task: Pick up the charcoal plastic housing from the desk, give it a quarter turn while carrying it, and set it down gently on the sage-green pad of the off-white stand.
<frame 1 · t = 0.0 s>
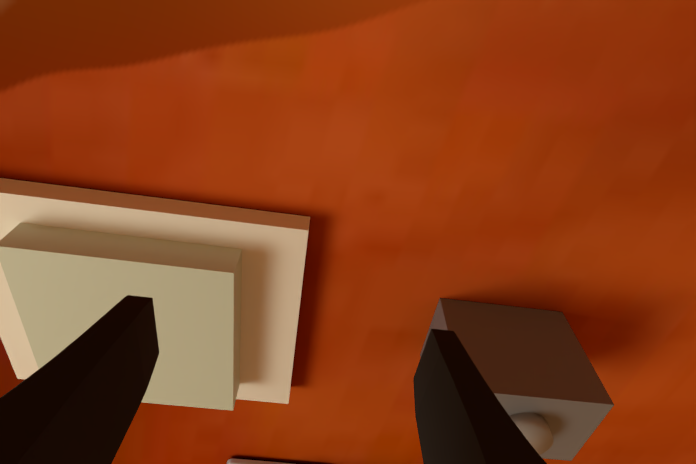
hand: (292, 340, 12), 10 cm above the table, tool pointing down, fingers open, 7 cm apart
stand: (152, 298, 25), on the table
housing: (488, 333, 26), on the table
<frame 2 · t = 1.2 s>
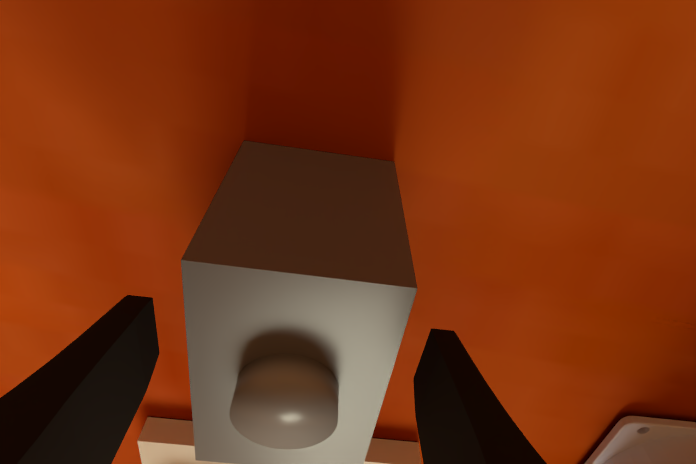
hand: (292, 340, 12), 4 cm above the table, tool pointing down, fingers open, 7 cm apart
housing: (308, 243, 16), on the table
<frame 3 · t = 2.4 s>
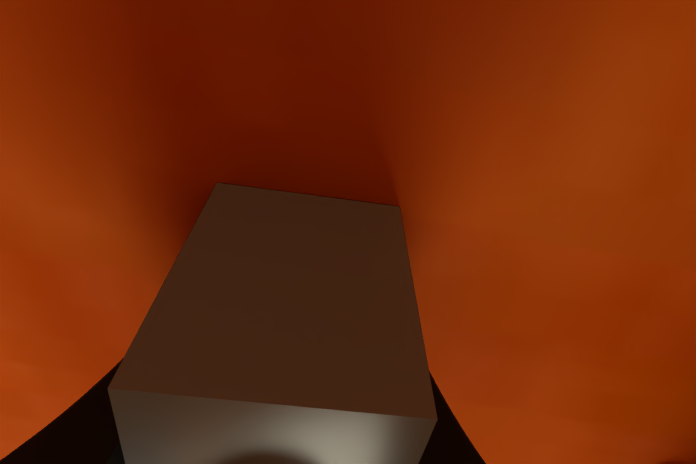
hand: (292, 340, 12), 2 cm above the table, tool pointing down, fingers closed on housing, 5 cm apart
housing: (297, 298, 13), on the table, touching gripper
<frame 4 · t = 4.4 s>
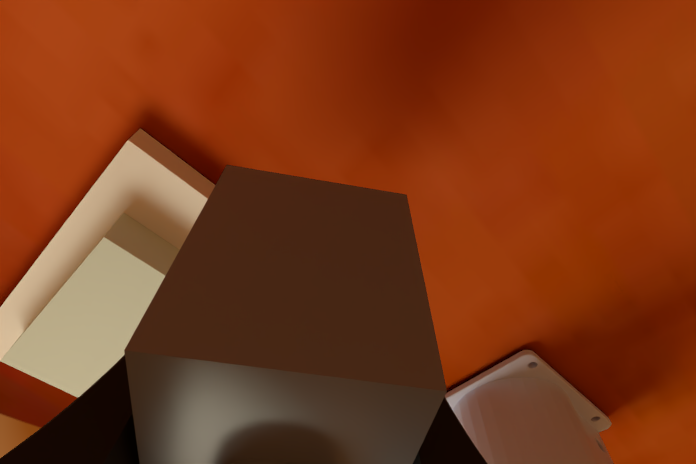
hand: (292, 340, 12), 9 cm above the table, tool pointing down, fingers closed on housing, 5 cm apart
stand: (171, 315, 24), on the table
housing: (301, 284, 13), point 7 cm above the table, touching gripper
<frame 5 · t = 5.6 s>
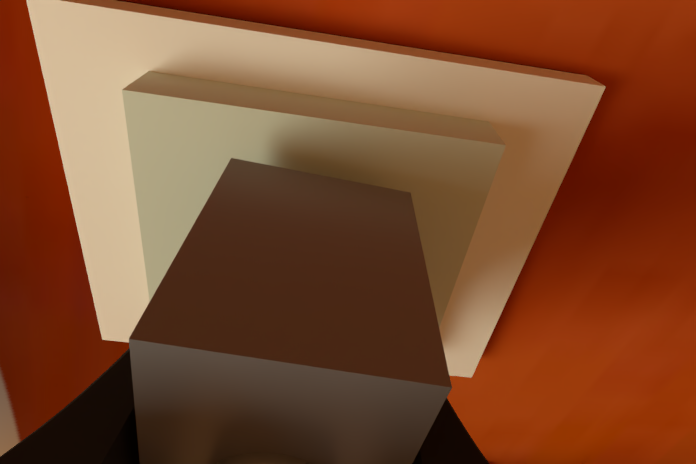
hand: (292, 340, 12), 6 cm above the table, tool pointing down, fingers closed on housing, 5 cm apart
stand: (309, 218, 17), on the table
housing: (302, 280, 13), point 4 cm above the table, touching gripper
when the fingers open (6 cm above the table, at t = 6.5 s): housing stays where it is, resting on stand.
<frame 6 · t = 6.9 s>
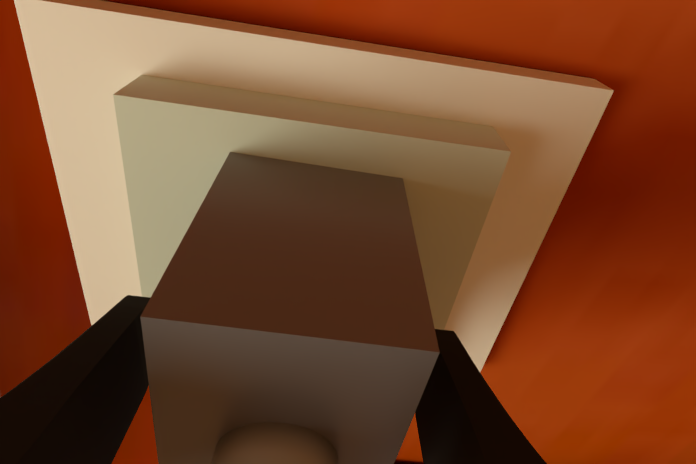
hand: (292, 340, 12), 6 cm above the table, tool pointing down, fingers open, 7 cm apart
stand: (308, 224, 16), on the table
housing: (303, 267, 14), point 3 cm above the table, touching stand
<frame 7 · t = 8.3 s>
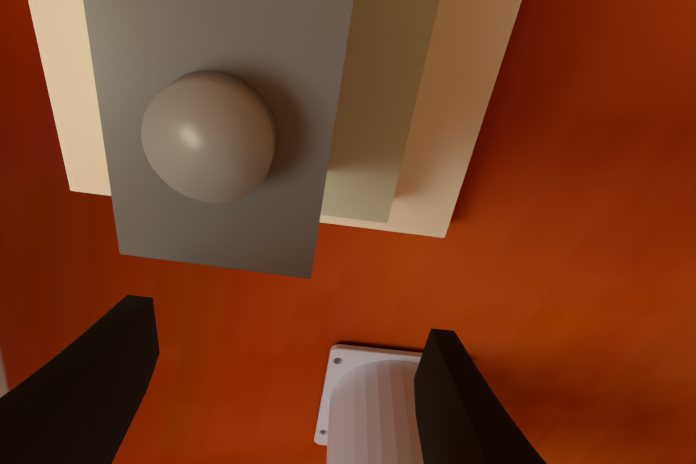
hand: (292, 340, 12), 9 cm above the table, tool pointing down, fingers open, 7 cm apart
stand: (276, 51, 17), on the table
housing: (264, 60, 14), point 3 cm above the table, touching stand
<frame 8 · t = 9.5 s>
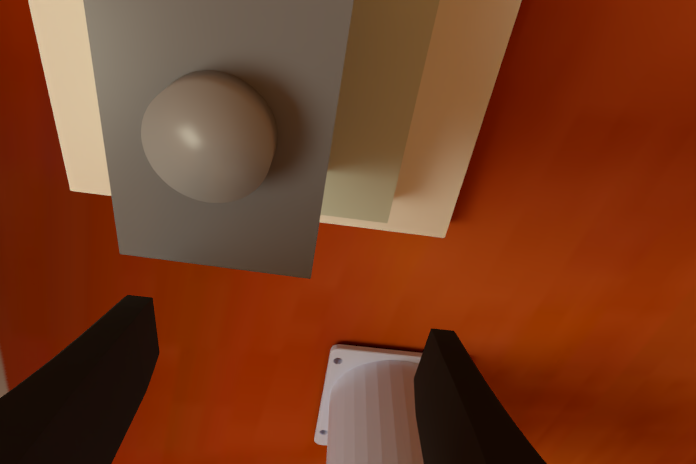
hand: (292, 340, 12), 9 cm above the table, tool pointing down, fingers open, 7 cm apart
stand: (276, 51, 17), on the table
housing: (264, 60, 14), point 3 cm above the table, touching stand
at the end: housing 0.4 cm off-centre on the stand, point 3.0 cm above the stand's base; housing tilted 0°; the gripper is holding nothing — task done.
